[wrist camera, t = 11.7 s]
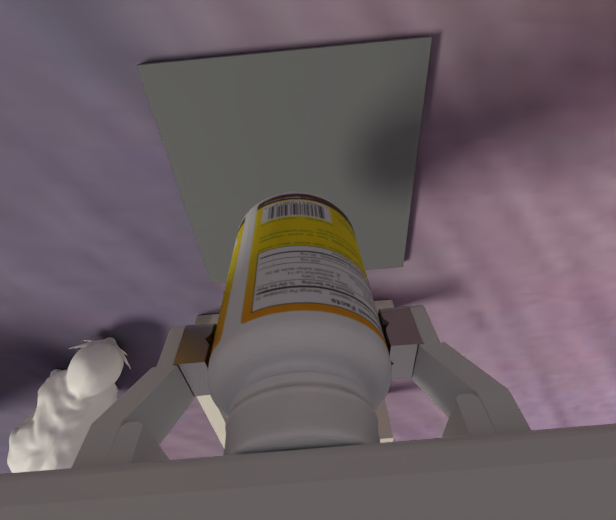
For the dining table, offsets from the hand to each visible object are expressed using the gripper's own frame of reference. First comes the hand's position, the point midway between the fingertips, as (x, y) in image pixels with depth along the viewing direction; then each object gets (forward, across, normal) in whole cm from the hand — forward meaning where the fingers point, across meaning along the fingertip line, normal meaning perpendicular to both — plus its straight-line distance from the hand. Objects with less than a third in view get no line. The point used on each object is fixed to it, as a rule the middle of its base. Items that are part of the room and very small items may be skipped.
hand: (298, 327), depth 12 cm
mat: (+11, 0, 0) cm, 11 cm away
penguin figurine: (+12, +20, +16) cm, 28 cm away
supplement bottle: (+6, 0, 0) cm, 6 cm away
